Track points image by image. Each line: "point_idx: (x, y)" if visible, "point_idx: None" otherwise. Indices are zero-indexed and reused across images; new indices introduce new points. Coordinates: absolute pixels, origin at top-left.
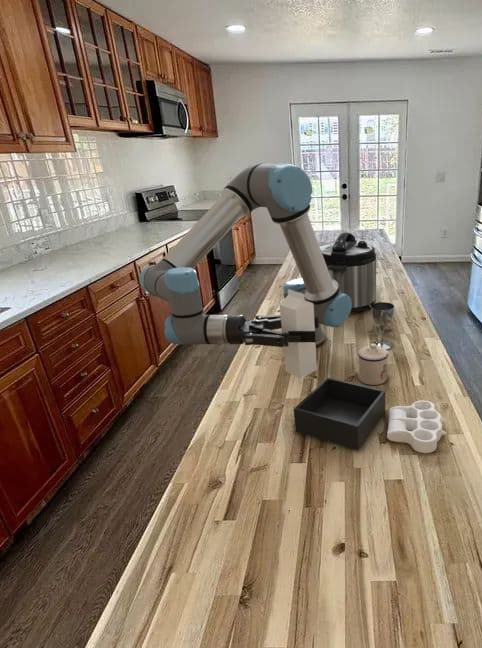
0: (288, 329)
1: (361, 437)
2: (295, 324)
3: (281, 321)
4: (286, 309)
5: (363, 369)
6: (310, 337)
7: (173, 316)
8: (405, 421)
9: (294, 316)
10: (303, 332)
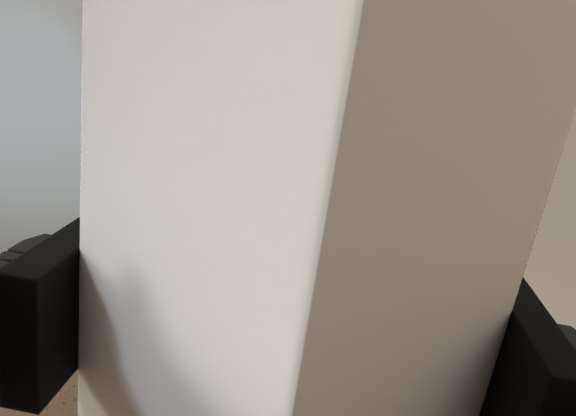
0: (415, 390)
1: None
2: (528, 234)
3: (317, 359)
4: (498, 26)
5: (63, 413)
6: None
7: None
8: None
9: (561, 118)
10: (521, 282)
